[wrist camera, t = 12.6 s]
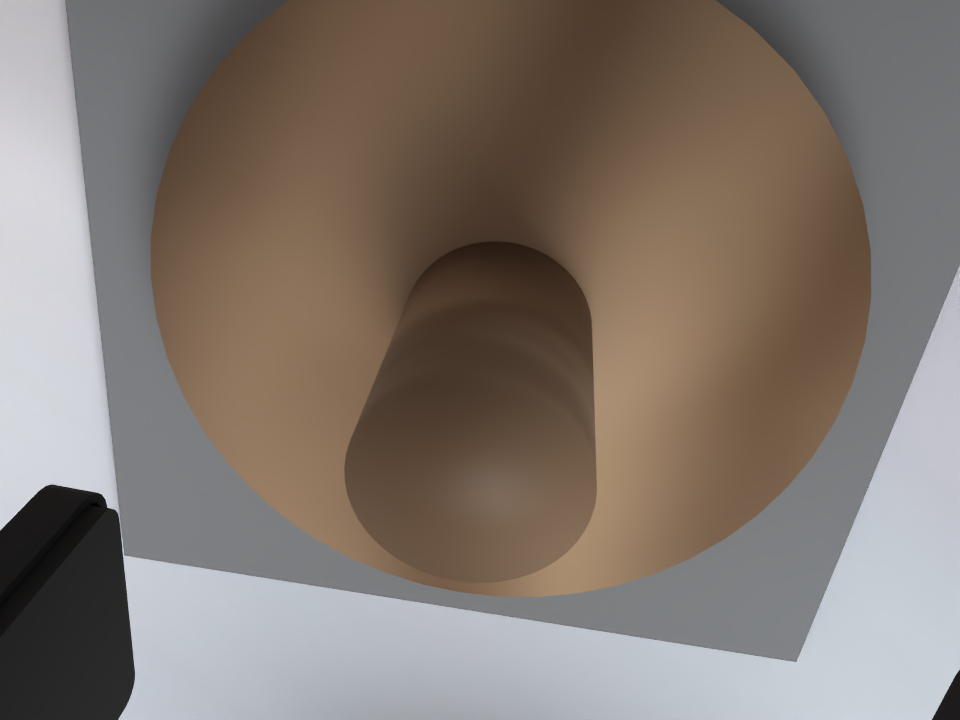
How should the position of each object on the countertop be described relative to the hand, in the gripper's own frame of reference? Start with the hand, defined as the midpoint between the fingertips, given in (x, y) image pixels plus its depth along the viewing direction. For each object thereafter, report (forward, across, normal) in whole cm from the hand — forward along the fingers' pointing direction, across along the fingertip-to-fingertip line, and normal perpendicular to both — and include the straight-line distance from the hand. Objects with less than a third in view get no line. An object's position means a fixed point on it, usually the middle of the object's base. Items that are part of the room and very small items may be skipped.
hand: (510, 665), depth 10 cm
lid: (+9, +1, 0) cm, 9 cm away
